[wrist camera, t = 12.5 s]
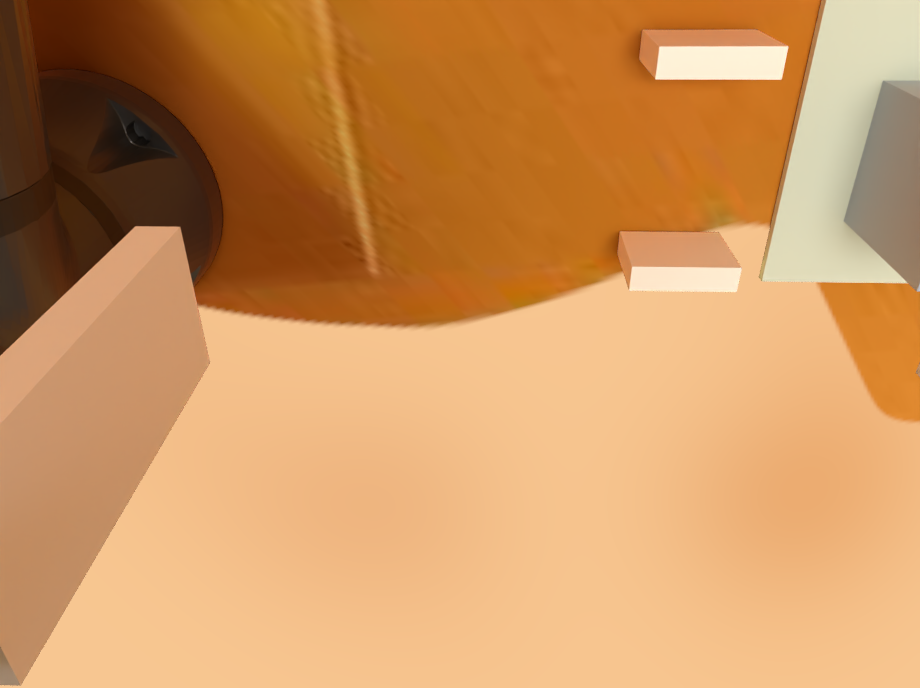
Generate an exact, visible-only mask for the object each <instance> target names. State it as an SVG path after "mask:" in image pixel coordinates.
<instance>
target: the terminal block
mask: <svg viewBox="0 0 920 688" xmlns="http://www.w3.org/2000/svg"><path fill="white" fill-rule="evenodd" d="M844 222H845V223H846V224H847V225H848V226H849V227H850V228H851V229H852V230H853V231H854V232H855V233H856V234H857V235H859V236H860V237H861V238H862V239H863V240H864V241H865V242H866V243H867V244H868V245H869V246H870V247H871V248H872V249H873V250H874V251H875V252H876V253H877V254H878V255H879V256H880V257H881V258H882V259H884V260H885V261H886V262H887V263H888V264H889V265H890V266H891V267H892V268H893V269H894V270H895V271H896V272H897V273H898V274H899V275H900V276H901V277H902V278H903V279H904V280H905V281H906V282H907V283H909V284H910V285H911V286H912V287H913V288H914V289H915V290H916V291H919V292H920V81H883V82H882V86H881V89H880V93H879V96H878V100H877V104H876V107H875V111H874V114H873V118H872V121H871V125H870V129H869V132H868V136H867V139H866V143H865V146H864V150H863V154H862V157H861V161H860V164H859V168H858V171H857V175H856V179H855V182H854V186H853V189H852V193H851V196H850V200H849V204H848V207H847V211H846V214H845V218H844Z"/></svg>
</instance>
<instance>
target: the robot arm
mask: <svg viewBox="0 0 920 688" xmlns="http://www.w3.org/2000/svg"><path fill="white" fill-rule="evenodd" d="M222 224H223V214H222V204H221V197H220V193H219V189H218V186H217V182H216V179H215V177H214V174H213V171H212V169H211V167H210V165H209V163H208V161H207V159H206V157H205V155H204V153H203V152H202V150H201V149H200V147H199V145H198V144H197V143H196V141H195V140H194V138H193V137H192V136H191V135H190V133H189V132H188V131H187V130H186V128H185V127H184V126H183V125H182V124H181V123H180V122H179V121H178V120H177V119H176V118H175V117H174V116H173V115H172V114H171V113H170V112H169V111H168V110H166V109H165V108H164V107H163V106H162V105H160V104H159V103H158V102H156V101H155V100H154V99H152V98H151V97H149V96H148V95H146V94H145V93H143V92H141V91H139V90H138V89H136V88H134V87H132V86H130V85H128V84H126V83H124V82H122V81H119V80H117V79H114V78H111V77H108V76H105V75H102V74H98V73H94V72H89V71H84V70H75V69H55V70H47V71H42V72H38V67H37V61H36V54H35V47H34V41H33V34H32V28H31V21H30V15H29V8H28V2H27V0H0V685H21V684H22V683H23V681H24V679H25V677H26V676H27V674H28V672H29V670H30V669H31V667H32V666H33V664H34V662H35V660H36V659H37V657H38V655H39V654H40V652H41V650H42V648H43V647H44V645H45V643H46V642H47V640H48V638H49V637H50V635H51V633H52V631H53V630H54V628H55V626H56V625H57V623H58V621H59V619H60V618H61V616H62V614H63V613H64V611H65V609H66V607H67V606H68V604H69V602H70V601H71V599H72V597H73V596H74V594H75V592H76V590H77V589H78V587H79V585H80V584H81V582H82V580H83V579H84V577H85V575H86V573H87V572H88V570H89V568H90V566H91V565H92V563H93V561H94V560H95V558H96V556H97V555H98V553H99V551H100V549H101V548H102V546H103V544H104V543H105V541H106V539H107V538H108V536H109V534H110V532H111V531H112V529H113V527H114V526H115V524H116V522H117V520H118V519H119V517H120V515H121V514H122V512H123V510H124V509H125V507H126V505H127V503H128V502H129V500H130V498H131V497H132V495H133V493H134V492H135V490H136V488H137V486H138V485H139V483H140V481H141V480H142V478H143V476H144V474H145V473H146V471H147V469H148V468H149V466H150V464H151V463H152V461H153V459H154V457H155V456H156V454H157V452H158V451H159V449H160V447H161V445H162V444H163V442H164V440H165V439H166V437H167V435H168V434H169V432H170V430H171V428H172V427H173V425H174V423H175V422H176V420H177V418H178V416H179V415H180V413H181V411H182V410H183V408H184V406H185V405H186V403H187V401H188V399H189V397H190V396H191V394H192V393H193V391H194V389H195V388H196V386H197V384H198V382H199V381H200V379H201V377H202V376H203V374H204V372H205V370H206V369H207V367H208V365H209V364H210V361H209V356H208V352H207V347H206V343H205V338H204V333H203V329H202V324H201V320H200V315H199V310H198V306H197V301H196V297H195V292H194V288H193V287H194V286H195V285H196V284H197V282H198V281H199V280H200V278H201V277H202V276H203V275H204V273H205V272H206V271H207V269H208V268H209V266H210V265H211V263H212V261H213V259H214V257H215V255H216V252H217V250H218V247H219V243H220V239H221V234H222ZM916 373H917V375H918V376H919V377H920V363H919V366H918V368H917V371H916Z"/></svg>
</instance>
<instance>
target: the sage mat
mask: <svg viewBox="0 0 920 688" xmlns="http://www.w3.org/2000/svg"><path fill="white" fill-rule="evenodd" d="M883 81H920V0H821V5H820V9H819V13H818V18H817V22H816V27H815V31H814V36H813V40H812V44H811V49H810V53H809V58H808V62H807V67H806V71H805V75H804V80H803V84H802V89H801V93H800V98H799V102H798V106H797V111H796V115H795V120H794V124H793V129H792V133H791V137H790V142H789V146H788V151H787V155H786V160H785V164H784V168H783V173H782V177H781V182H780V186H779V191H778V195H777V200H776V204H775V208H774V213H773V217H772V222H771V226H770V231H769V235H768V239H767V244H766V248H765V253H764V258H763V262H762V266H761V270H760V275H759V278H760V279H761V281H770V282H771V281H772V282H773V281H774V282H776V281H777V282H778V281H779V282H850V283H907V282H906V281H905V280H904V279H903V278H902V277H901V276H900V275H899V274H898V273H897V272H896V271H895V270H894V269H893V268H892V267H891V266H890V265H889V264H888V263H887V262H886V261H885V260H884V259H882V258H881V257H880V256H879V255H878V254H877V253H876V252H875V251H874V250H873V249H872V248H871V247H870V246H869V245H868V244H867V243H866V242H865V241H864V240H863V239H862V238H861V237H860V236H859V235H857V234H856V233H855V232H854V231H853V230H852V229H851V228H850V227H849V226H848V225H847V224H846V223H845V222H844V218H845V214H846V211H847V207H848V204H849V200H850V196H851V193H852V189H853V186H854V182H855V179H856V175H857V171H858V168H859V164H860V161H861V157H862V154H863V150H864V146H865V143H866V139H867V136H868V132H869V129H870V125H871V121H872V118H873V114H874V111H875V107H876V104H877V100H878V96H879V93H880V89H881V86H882V82H883Z"/></svg>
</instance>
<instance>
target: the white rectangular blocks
mask: <svg viewBox="0 0 920 688" xmlns="http://www.w3.org/2000/svg"><path fill="white" fill-rule="evenodd" d="M787 51H788V46H787V45H785V44H783V43H781V42H779V41H778V40H776V39H774V38H772V37H770V36H768V35H766V34H765V33H763V32H761V31H759V30H757V29H724V30H642V36H641V45H640V54H639V60H640V61H641V63H642V64H643V65H644V66H645V67H646V69H647V70H648V71H649V72H650V73H651V75H652V76H653V77H654V78H655V79H765V80H781V79H782V75H783V70H784V65H785V61H786V56H787ZM617 255H618V258H619V261H620V264H621V267H622V270H623V273H624V276H625V279H626V282H627V285H628V289H629V291H696V292H697V291H699V292H737V288H738V283H739V279H740V274H741V269H742V268H741V266H740V264H739V263H738V261H737V260H736V258H735V257H734V255H733V253H732V252H731V250H730V249H729V247H728V246H727V244H726V243H725V241H724V239H723V238H722V236H721V235H720V233H719V232H642V231H620V233H619V242H618V251H617Z"/></svg>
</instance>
